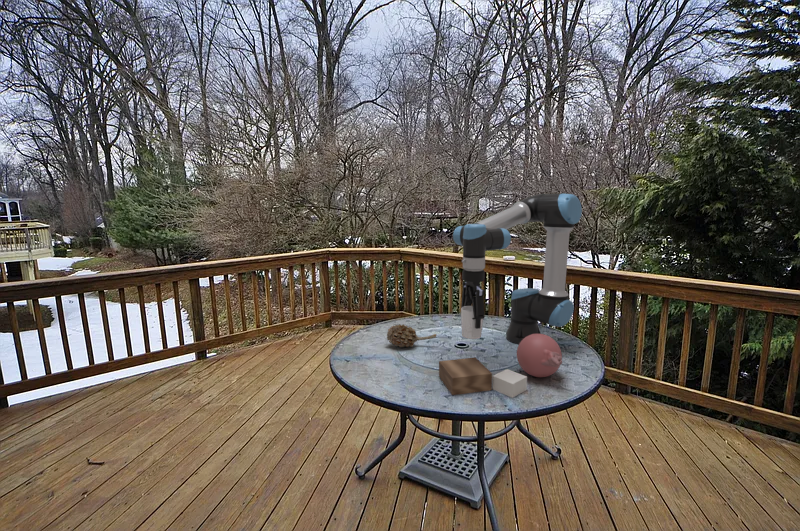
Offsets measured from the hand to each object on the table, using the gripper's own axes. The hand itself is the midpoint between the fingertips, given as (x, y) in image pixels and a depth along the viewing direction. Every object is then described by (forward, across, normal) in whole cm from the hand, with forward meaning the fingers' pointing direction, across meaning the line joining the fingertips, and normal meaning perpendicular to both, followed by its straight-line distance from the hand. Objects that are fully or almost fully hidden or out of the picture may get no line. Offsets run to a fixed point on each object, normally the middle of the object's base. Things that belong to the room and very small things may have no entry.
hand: (471, 332), depth 143 cm
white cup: (+1, 0, 0) cm, 1 cm away
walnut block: (+17, +4, -4) cm, 18 cm away
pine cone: (+17, -34, -13) cm, 41 cm away
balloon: (+17, +6, +24) cm, 30 cm away
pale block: (+17, +11, +9) cm, 23 cm away
